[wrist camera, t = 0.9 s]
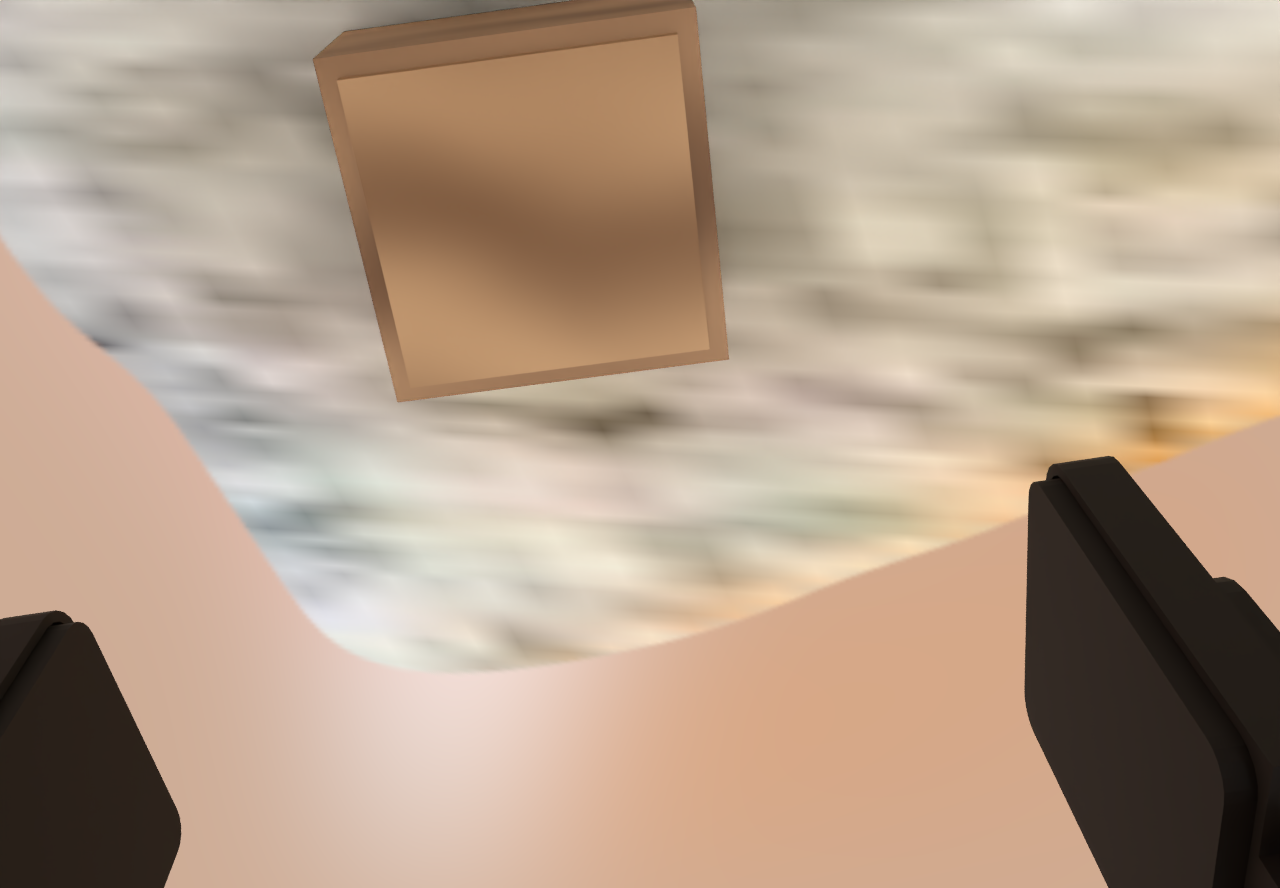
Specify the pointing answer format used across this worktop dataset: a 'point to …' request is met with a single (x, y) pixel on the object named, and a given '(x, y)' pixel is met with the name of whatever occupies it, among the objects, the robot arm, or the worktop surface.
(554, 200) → the plinth
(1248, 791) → the robot arm
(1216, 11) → the worktop surface
